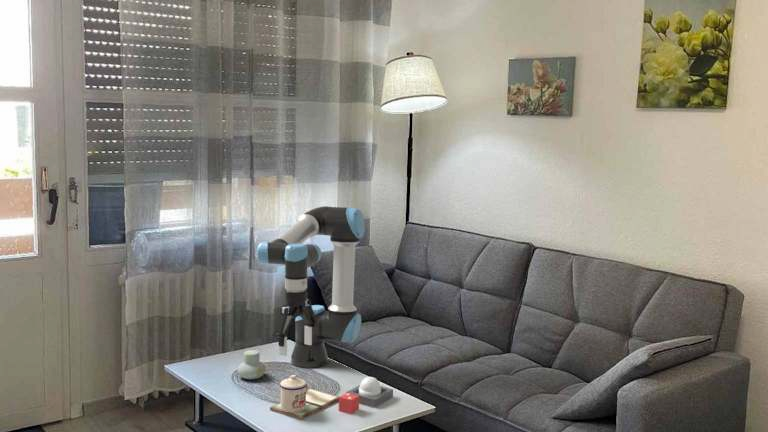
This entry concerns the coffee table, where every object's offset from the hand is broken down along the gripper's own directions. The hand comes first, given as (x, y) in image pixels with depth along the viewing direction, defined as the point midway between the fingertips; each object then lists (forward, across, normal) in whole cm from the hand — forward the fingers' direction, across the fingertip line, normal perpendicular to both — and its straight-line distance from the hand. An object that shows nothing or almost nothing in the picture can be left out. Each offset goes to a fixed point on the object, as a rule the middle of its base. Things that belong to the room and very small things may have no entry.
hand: (295, 349), depth 255 cm
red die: (+21, +9, -16) cm, 28 cm away
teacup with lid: (+20, -2, -1) cm, 20 cm away
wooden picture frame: (+21, +4, -1) cm, 21 cm away
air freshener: (+22, +13, +32) cm, 41 cm away
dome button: (+20, +22, -16) cm, 34 cm away
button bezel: (+21, +22, -16) cm, 35 cm away
